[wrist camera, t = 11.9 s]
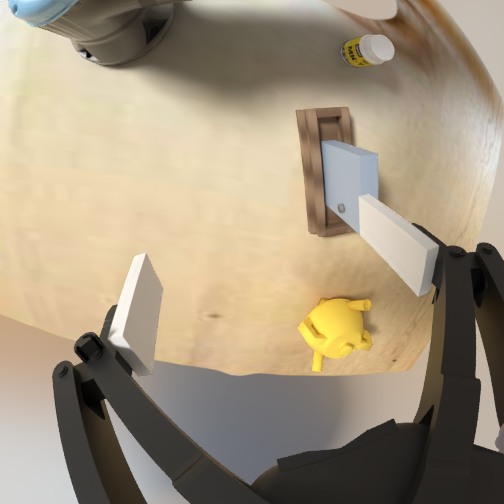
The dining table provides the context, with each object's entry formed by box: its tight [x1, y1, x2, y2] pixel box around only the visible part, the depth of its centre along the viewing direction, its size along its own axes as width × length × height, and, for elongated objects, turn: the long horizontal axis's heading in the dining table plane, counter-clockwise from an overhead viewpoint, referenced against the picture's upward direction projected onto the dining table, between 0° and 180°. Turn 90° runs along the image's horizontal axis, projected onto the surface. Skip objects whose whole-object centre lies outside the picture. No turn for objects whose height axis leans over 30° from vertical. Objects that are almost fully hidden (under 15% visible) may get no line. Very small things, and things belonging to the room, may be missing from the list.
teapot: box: [298, 298, 373, 371], centre depth 52 cm, size 20×18×11 cm
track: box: [296, 107, 354, 237], centre depth 40 cm, size 20×8×3 cm, turn 9°
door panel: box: [319, 140, 378, 235], centre depth 35 cm, size 10×3×12 cm, turn 9°
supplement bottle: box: [341, 34, 395, 67], centre depth 28 cm, size 5×5×8 cm
